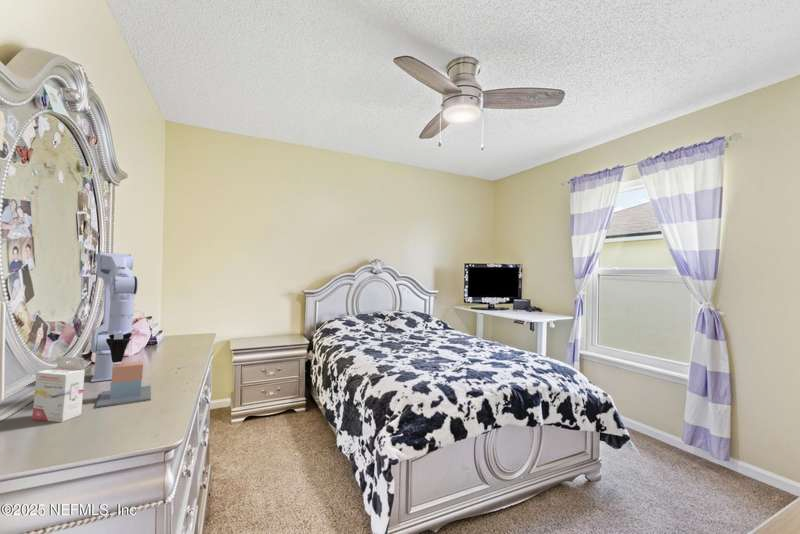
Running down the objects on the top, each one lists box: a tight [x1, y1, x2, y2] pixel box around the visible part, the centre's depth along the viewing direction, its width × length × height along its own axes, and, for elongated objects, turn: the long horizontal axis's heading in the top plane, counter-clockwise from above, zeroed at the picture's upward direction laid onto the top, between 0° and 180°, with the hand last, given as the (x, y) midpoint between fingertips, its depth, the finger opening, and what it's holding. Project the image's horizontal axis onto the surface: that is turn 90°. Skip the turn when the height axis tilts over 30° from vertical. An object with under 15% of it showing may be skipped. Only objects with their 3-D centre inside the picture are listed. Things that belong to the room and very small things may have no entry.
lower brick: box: [109, 380, 142, 399], centre depth 101 cm, size 4×7×4 cm, turn 127°
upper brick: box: [110, 361, 144, 384], centre depth 101 cm, size 4×7×4 cm, turn 127°
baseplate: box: [95, 385, 152, 409], centre depth 101 cm, size 14×12×1 cm
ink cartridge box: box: [31, 355, 86, 423], centre depth 85 cm, size 9×5×15 cm, turn 84°
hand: (118, 359), depth 104 cm, fingers open, 7 cm apart
